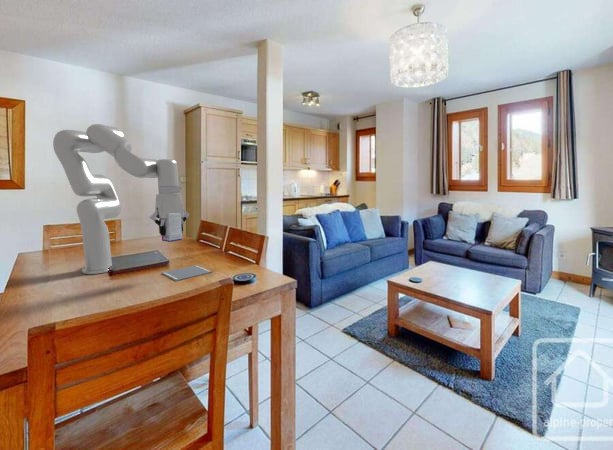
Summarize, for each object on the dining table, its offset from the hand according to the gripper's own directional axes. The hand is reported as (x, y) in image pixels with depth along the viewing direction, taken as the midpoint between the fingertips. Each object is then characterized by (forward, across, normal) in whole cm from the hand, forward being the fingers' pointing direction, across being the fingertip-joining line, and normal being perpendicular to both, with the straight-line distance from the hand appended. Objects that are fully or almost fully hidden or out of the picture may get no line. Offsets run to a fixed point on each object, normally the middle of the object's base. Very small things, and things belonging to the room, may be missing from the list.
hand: (171, 233), depth 124 cm
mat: (+18, -5, 0) cm, 19 cm away
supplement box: (+3, 0, 0) cm, 3 cm away
